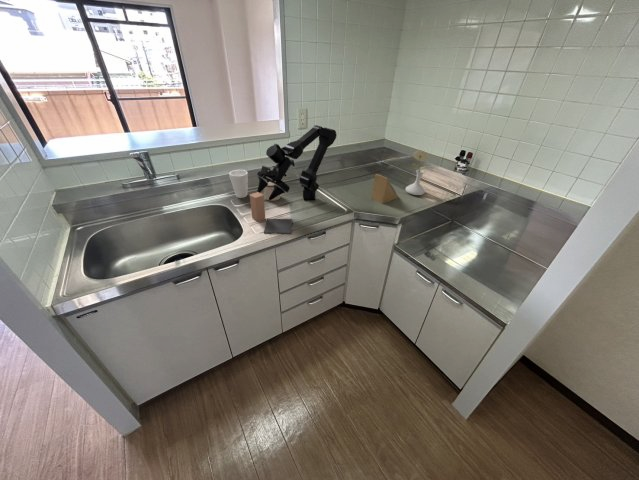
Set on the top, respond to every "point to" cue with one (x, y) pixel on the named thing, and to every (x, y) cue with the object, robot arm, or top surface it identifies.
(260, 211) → the terracotta block
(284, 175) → the robot arm
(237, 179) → the foam cup
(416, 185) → the flower in vase
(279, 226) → the black mat
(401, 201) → the top surface
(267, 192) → the teacup with lid
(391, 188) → the sandwich container
